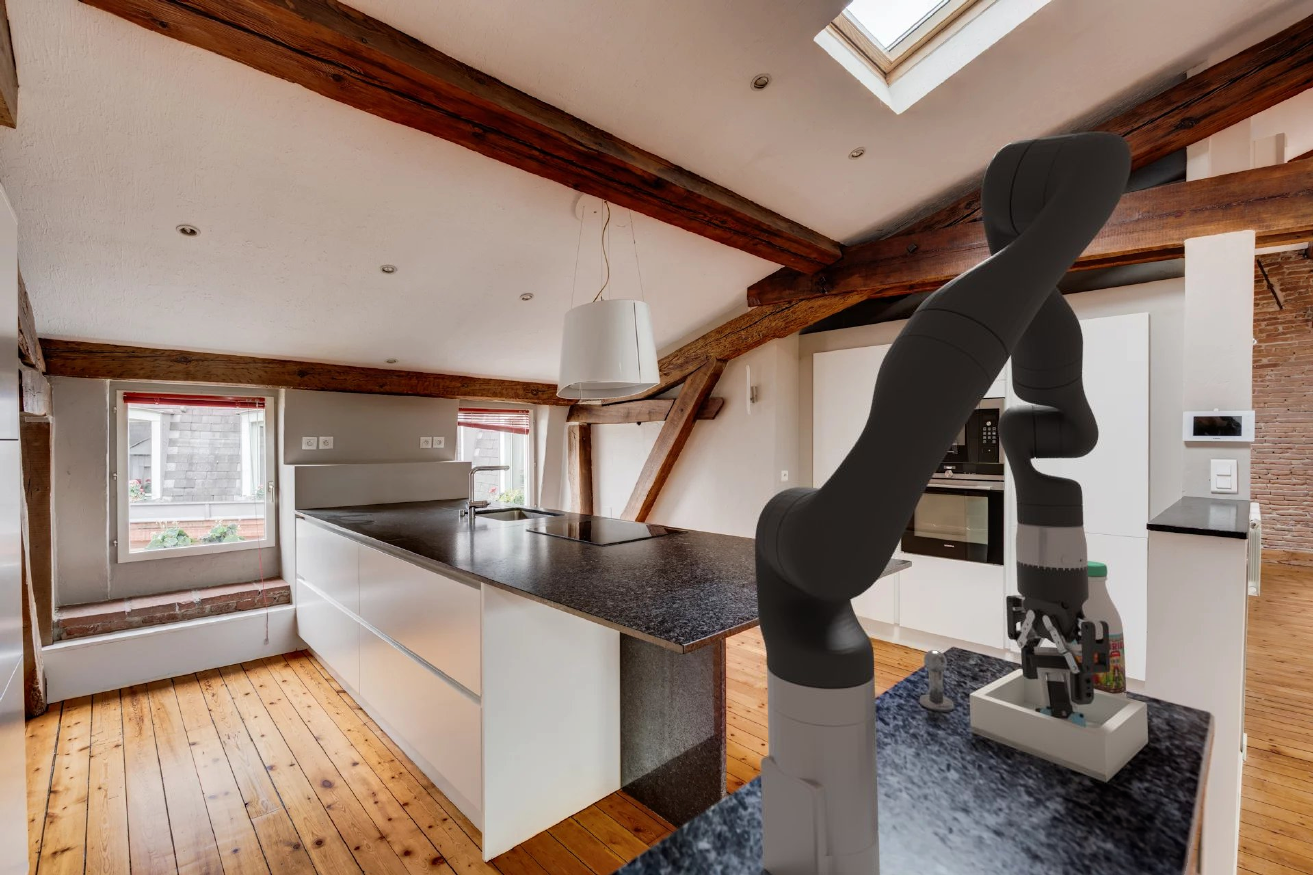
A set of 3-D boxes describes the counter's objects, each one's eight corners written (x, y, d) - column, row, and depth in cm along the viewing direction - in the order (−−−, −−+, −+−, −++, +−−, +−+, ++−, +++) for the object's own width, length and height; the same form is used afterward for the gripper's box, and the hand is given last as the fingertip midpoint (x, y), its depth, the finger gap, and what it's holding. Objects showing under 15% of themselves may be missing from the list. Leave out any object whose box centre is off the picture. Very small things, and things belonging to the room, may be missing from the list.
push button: (1088, 735, 72) (1074, 650, 76) (1111, 740, 67) (1095, 650, 71) (1030, 729, 73) (1019, 646, 77) (1048, 734, 69) (1036, 645, 72)
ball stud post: (943, 714, 79) (941, 658, 79) (913, 703, 83) (912, 649, 83) (959, 706, 82) (958, 651, 82) (929, 695, 85) (928, 643, 85)
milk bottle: (1047, 697, 84) (1042, 560, 84) (1078, 688, 87) (1073, 555, 88) (1107, 719, 77) (1101, 569, 77) (1138, 708, 80) (1132, 564, 81)
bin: (1106, 782, 62) (1104, 737, 63) (970, 731, 74) (969, 694, 74) (1148, 742, 71) (1146, 702, 71) (1020, 702, 82) (1019, 668, 83)
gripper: (1129, 569, 66) (1135, 713, 66) (1035, 549, 81) (1040, 667, 80) (1069, 572, 66) (1074, 717, 65) (985, 551, 80) (989, 670, 79)
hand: (1055, 689), depth 73 cm, fingers open, 7 cm apart
